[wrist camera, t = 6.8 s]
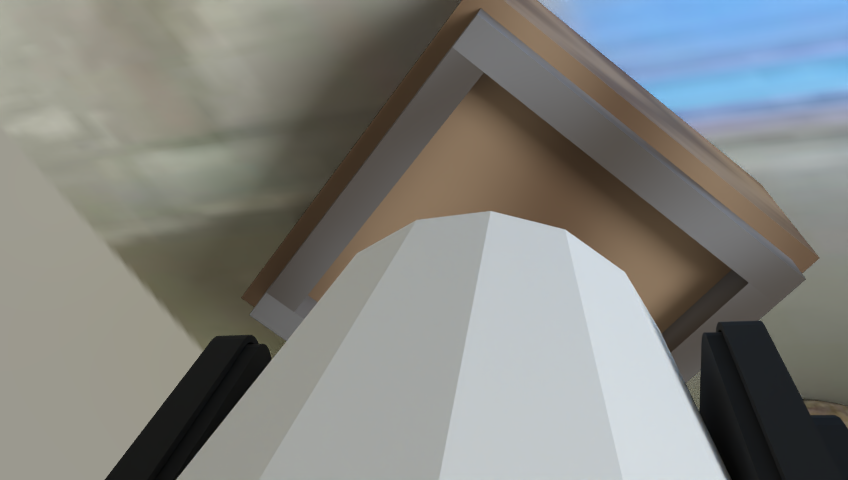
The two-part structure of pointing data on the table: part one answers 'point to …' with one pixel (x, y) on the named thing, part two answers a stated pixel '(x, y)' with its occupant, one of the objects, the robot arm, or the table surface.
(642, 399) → the white short cylinder
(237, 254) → the table surface
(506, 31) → the display riser
